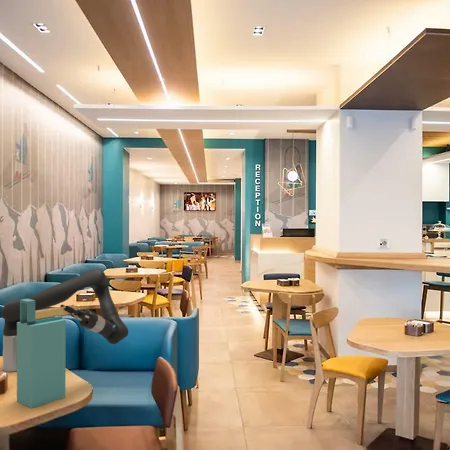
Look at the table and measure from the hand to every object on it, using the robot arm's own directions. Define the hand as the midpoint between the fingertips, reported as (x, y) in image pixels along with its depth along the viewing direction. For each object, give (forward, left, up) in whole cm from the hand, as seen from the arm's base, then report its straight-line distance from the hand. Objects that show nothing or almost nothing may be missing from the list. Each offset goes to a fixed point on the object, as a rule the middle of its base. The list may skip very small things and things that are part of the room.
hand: (63, 307), depth 201 cm
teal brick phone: (0, -10, -36) cm, 38 cm away
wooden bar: (0, -4, -3) cm, 5 cm away
